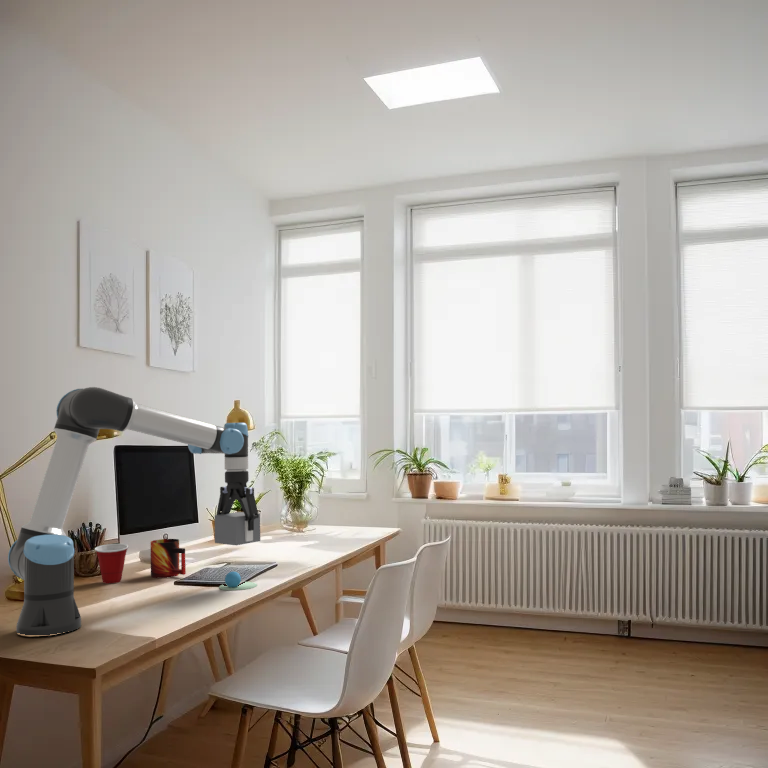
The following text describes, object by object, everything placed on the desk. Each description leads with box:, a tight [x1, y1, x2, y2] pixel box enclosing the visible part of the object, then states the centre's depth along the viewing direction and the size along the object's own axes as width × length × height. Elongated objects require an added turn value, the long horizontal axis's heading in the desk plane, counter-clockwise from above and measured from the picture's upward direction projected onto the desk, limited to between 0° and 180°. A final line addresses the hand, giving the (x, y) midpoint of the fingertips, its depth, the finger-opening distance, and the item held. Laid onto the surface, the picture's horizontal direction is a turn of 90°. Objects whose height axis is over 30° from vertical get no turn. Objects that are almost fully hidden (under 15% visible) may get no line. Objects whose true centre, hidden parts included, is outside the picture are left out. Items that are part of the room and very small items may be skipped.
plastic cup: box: [94, 543, 129, 584], centre depth 252 cm, size 11×11×12 cm
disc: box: [218, 581, 258, 591], centre depth 240 cm, size 12×12×1 cm
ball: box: [224, 571, 242, 588], centre depth 238 cm, size 5×5×5 cm
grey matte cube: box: [214, 511, 261, 546], centre depth 241 cm, size 10×10×9 cm
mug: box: [150, 538, 187, 579], centre depth 262 cm, size 10×14×12 cm
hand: (237, 539), depth 241 cm, fingers closed on grey matte cube, 10 cm apart
